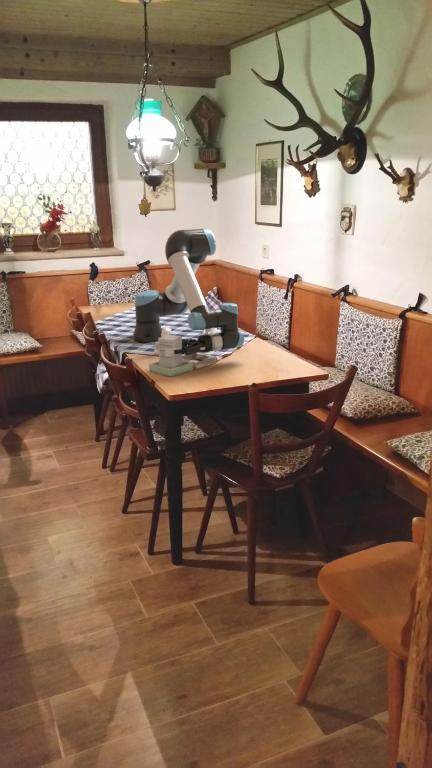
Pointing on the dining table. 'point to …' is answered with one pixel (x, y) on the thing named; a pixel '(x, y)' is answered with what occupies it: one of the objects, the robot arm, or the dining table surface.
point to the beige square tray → (206, 361)
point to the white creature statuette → (165, 332)
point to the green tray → (170, 372)
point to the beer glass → (209, 331)
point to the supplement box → (169, 343)
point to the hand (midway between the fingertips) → (160, 349)
